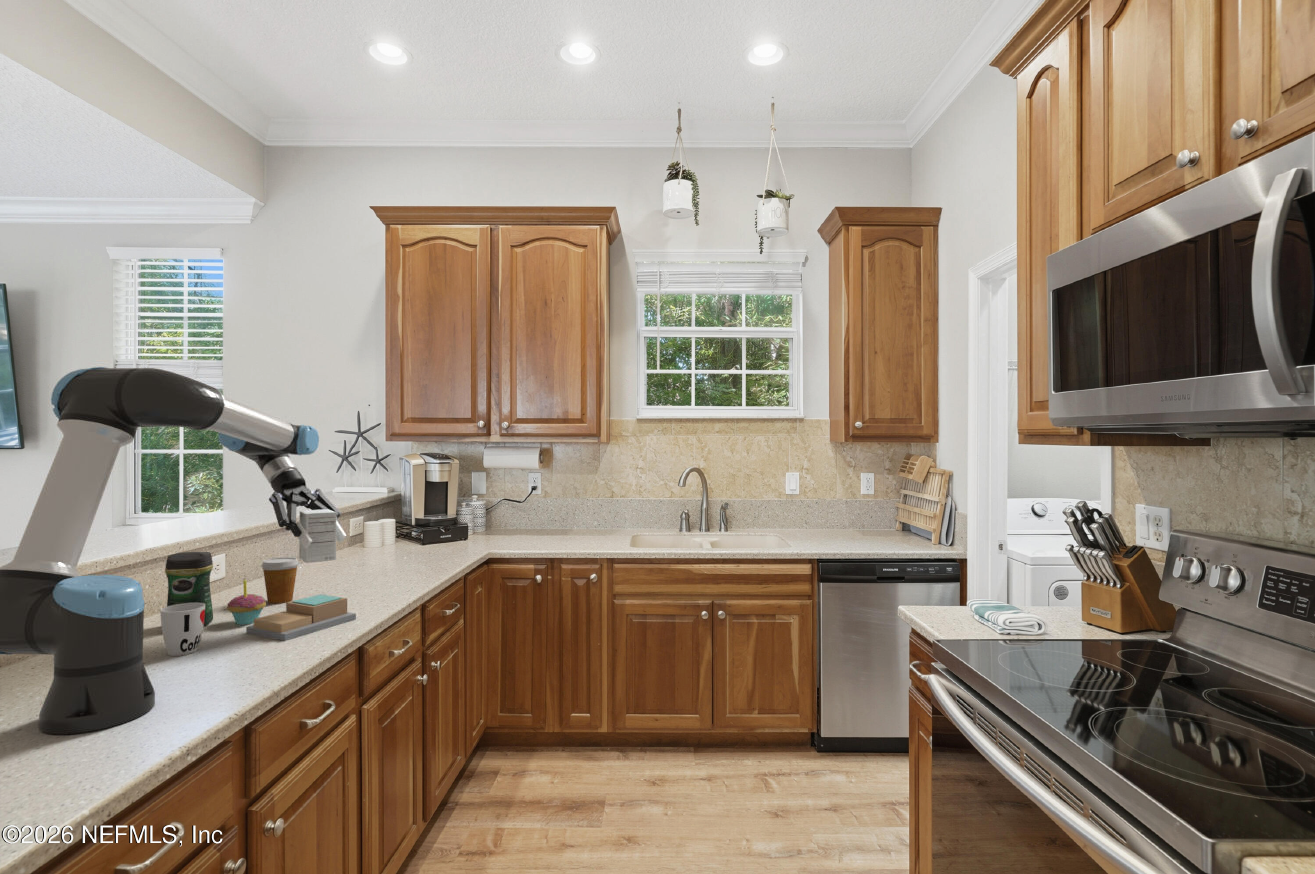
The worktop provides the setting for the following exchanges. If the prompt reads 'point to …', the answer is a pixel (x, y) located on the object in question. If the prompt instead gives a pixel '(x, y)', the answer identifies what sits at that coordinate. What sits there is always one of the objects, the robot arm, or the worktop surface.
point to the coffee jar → (190, 580)
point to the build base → (302, 629)
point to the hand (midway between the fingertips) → (326, 541)
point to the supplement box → (319, 535)
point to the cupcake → (246, 607)
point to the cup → (182, 627)
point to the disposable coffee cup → (280, 578)
